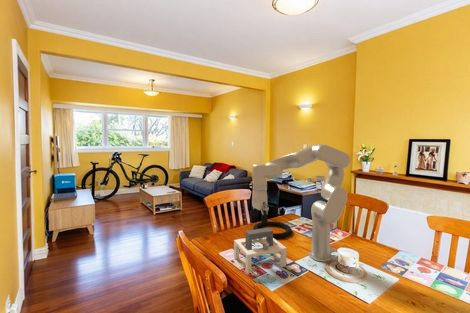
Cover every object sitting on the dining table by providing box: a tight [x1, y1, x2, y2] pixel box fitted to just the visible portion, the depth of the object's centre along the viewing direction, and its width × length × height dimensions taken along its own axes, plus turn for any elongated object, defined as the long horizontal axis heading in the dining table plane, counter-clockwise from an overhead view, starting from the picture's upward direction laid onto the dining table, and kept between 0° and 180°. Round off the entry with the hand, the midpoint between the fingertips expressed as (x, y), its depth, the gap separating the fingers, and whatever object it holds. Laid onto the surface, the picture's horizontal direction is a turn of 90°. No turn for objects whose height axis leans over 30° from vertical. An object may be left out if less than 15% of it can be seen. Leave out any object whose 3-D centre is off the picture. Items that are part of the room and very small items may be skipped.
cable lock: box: [252, 220, 293, 240], centre depth 176 cm, size 28×4×30 cm
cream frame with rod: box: [233, 237, 287, 275], centre depth 133 cm, size 22×19×14 cm
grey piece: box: [245, 227, 274, 250], centre depth 133 cm, size 14×5×12 cm, turn 111°
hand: (260, 218), depth 132 cm, fingers open, 9 cm apart
